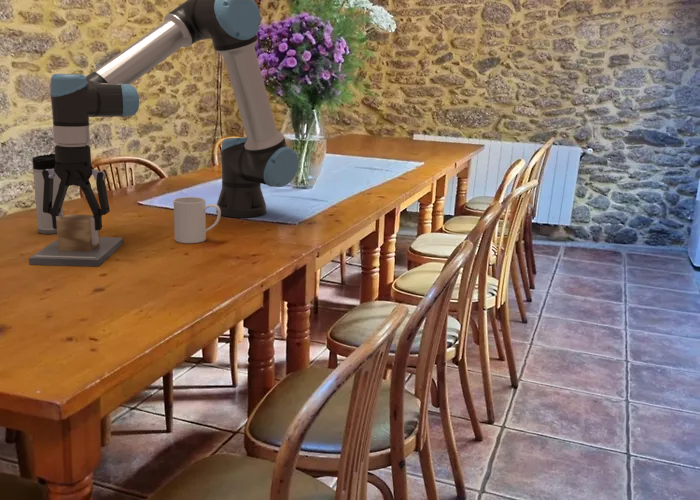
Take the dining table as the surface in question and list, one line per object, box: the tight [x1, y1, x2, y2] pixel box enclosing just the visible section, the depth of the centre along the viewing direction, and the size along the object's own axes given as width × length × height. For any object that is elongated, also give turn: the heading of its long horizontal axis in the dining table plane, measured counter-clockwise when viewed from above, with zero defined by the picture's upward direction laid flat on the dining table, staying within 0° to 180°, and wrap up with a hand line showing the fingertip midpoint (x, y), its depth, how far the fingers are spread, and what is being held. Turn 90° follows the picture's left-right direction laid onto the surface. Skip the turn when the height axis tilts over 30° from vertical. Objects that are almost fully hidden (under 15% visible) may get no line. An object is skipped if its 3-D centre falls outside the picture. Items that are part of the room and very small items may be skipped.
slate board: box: [28, 236, 125, 267], centre depth 160 cm, size 15×20×2 cm
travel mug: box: [31, 153, 64, 235], centre depth 177 cm, size 6×7×20 cm
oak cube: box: [56, 213, 100, 251], centre depth 159 cm, size 7×7×7 cm
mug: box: [173, 196, 222, 244], centre depth 175 cm, size 12×8×10 cm, turn 79°
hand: (78, 242), depth 160 cm, fingers closed on oak cube, 7 cm apart
